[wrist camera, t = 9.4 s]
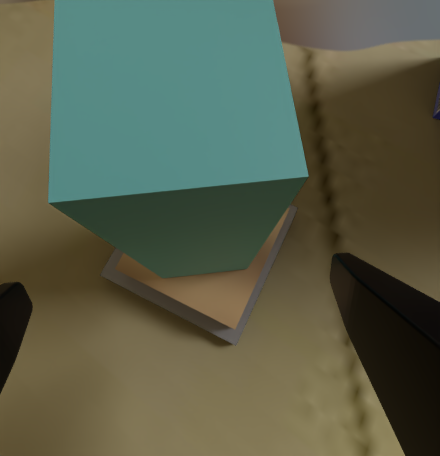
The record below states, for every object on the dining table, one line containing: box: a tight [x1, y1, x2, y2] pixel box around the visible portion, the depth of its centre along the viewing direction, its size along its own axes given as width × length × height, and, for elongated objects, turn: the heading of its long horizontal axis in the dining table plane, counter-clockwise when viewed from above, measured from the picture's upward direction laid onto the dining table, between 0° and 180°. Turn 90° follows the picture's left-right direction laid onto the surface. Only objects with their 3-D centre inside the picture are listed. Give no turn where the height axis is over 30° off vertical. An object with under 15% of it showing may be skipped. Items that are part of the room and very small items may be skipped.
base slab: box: [100, 204, 298, 346], centre depth 22 cm, size 10×10×2 cm
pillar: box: [48, 0, 309, 278], centre depth 13 cm, size 5×5×13 cm
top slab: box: [115, 208, 290, 329], centre depth 20 cm, size 8×8×2 cm
